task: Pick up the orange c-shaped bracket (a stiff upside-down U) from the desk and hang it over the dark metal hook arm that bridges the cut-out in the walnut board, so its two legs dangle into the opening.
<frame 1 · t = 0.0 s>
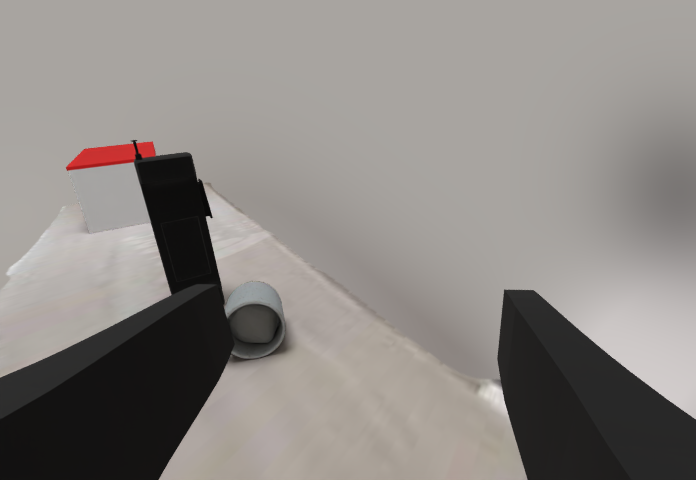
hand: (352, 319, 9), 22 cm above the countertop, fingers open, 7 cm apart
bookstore: (134, 213, 118), on the countertop
ceramic mug: (248, 344, 46), on the countertop
portable radio: (203, 304, 56), on the countertop
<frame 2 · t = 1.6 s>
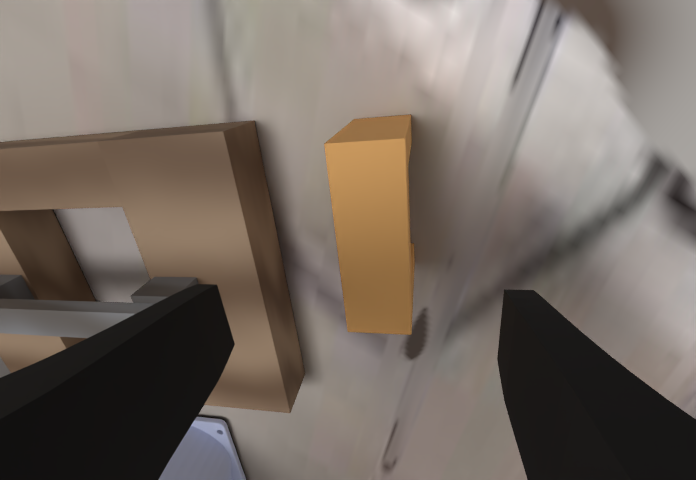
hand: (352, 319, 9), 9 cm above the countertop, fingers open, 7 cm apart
orange c-shaped bracket: (386, 197, 17), on the countertop
hook board: (132, 267, 22), on the countertop
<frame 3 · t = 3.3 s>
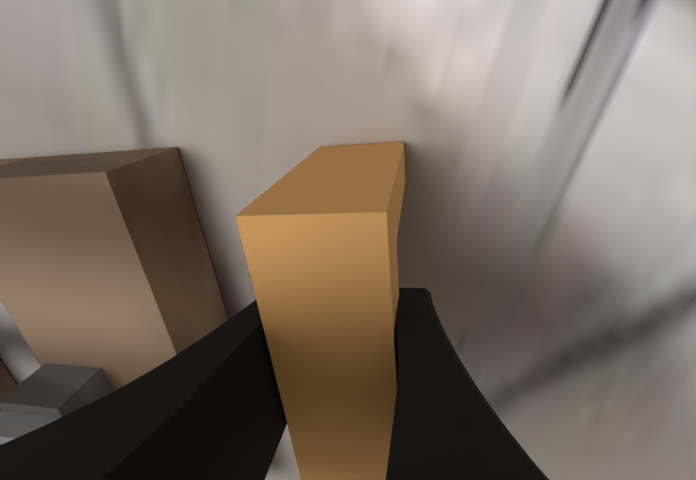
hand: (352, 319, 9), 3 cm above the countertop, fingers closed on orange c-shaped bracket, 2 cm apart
orange c-shaped bracket: (370, 255, 12), on the countertop, touching gripper
hook board: (42, 330, 17), on the countertop
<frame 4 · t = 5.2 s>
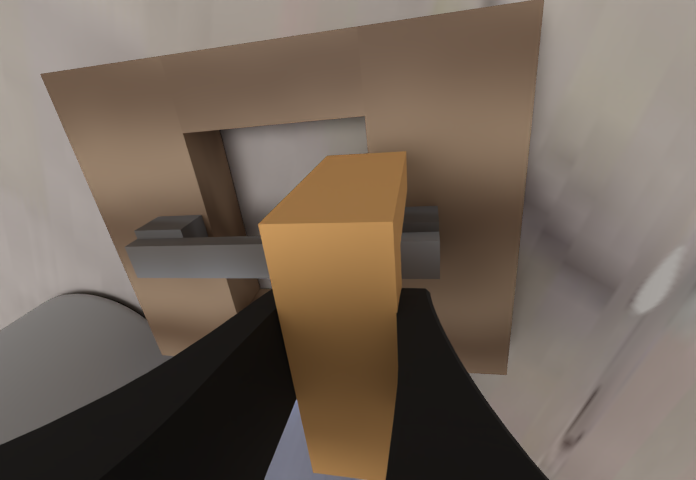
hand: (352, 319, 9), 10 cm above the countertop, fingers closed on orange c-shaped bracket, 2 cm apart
orange c-shaped bracket: (373, 257, 13), point 6 cm above the countertop, touching gripper
cylinder vase: (118, 353, 28), on the countertop
hook board: (308, 211, 20), on the countertop
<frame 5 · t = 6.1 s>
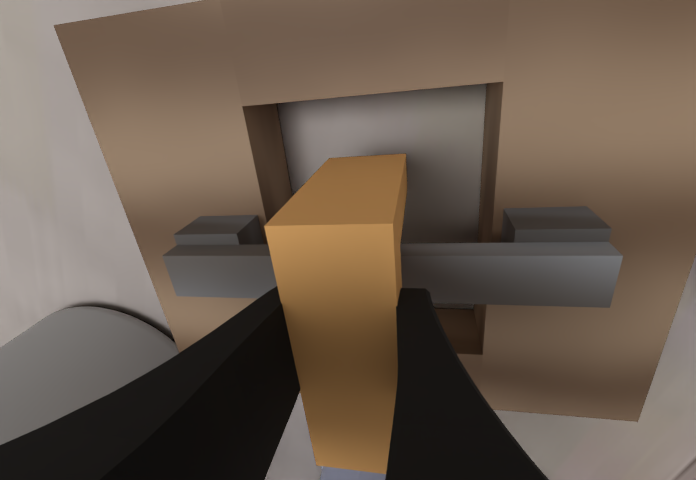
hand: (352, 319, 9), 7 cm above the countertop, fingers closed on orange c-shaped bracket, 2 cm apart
orange c-shaped bracket: (374, 256, 13), point 3 cm above the countertop, touching gripper
cylinder vase: (132, 375, 24), on the countertop
hook board: (382, 212, 16), on the countertop
when the fingers open (6 cm above the countertop, at t = 7.0 s): orange c-shaped bracket stays where it is, resting on hook board.
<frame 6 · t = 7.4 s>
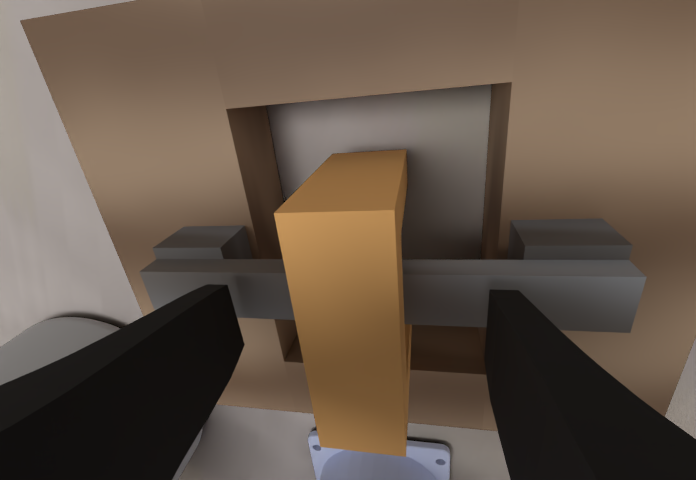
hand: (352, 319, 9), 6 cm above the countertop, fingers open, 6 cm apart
orange c-shaped bracket: (375, 249, 14), point 1 cm above the countertop, touching hook board
cylinder vase: (120, 386, 23), on the countertop
hook board: (379, 221, 15), on the countertop
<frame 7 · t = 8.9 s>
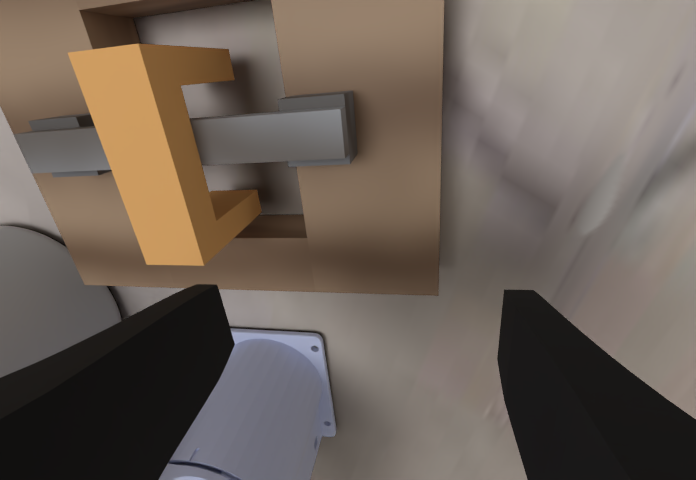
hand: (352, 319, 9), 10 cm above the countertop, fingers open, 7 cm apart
orange c-shaped bracket: (222, 139, 17), point 1 cm above the countertop, touching hook board
cylinder vase: (53, 297, 27), on the countertop
hook board: (234, 123, 18), on the countertop
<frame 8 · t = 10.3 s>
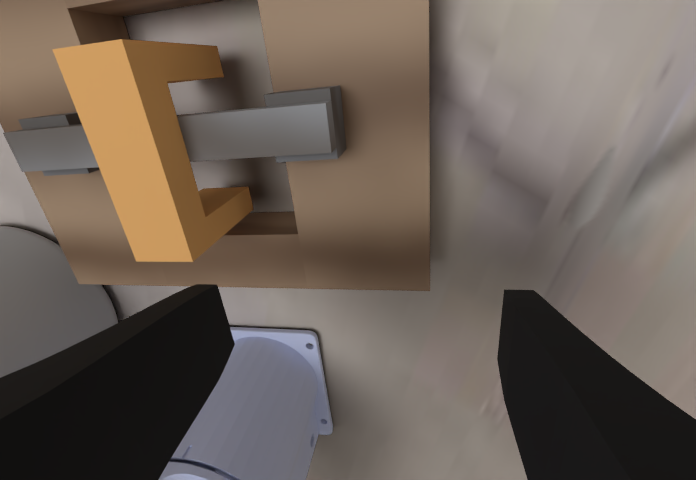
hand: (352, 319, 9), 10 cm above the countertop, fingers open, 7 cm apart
orange c-shaped bracket: (212, 137, 17), point 1 cm above the countertop, touching hook board
cylinder vase: (49, 297, 27), on the countertop
hook board: (225, 120, 18), on the countertop
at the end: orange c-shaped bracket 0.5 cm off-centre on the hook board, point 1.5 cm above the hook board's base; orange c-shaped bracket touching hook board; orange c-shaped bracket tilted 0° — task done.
